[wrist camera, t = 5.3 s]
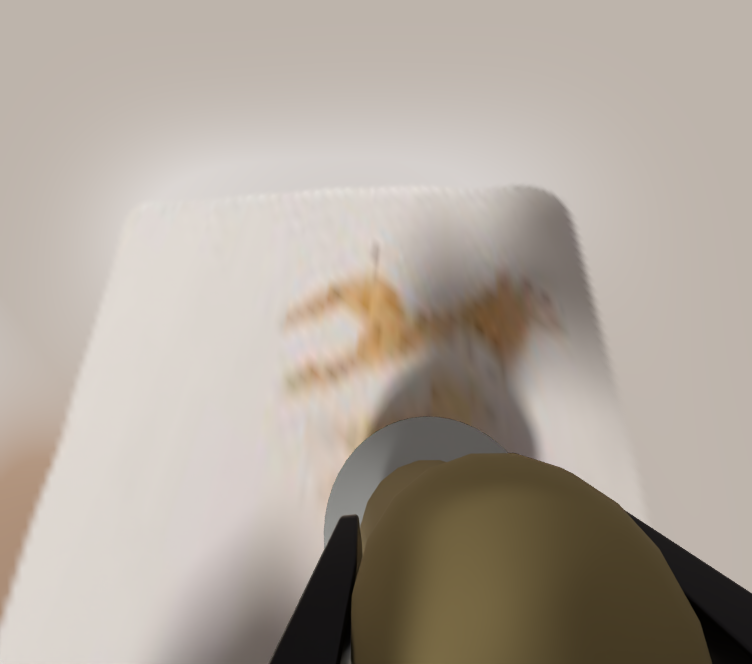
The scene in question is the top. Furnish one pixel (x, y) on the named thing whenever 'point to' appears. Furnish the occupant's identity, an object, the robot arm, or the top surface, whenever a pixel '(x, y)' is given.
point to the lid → (399, 459)
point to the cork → (512, 572)
